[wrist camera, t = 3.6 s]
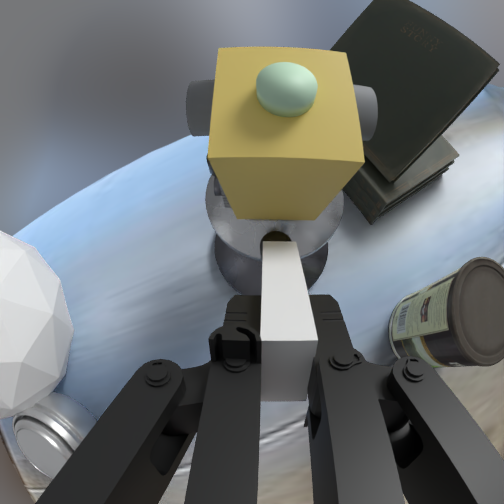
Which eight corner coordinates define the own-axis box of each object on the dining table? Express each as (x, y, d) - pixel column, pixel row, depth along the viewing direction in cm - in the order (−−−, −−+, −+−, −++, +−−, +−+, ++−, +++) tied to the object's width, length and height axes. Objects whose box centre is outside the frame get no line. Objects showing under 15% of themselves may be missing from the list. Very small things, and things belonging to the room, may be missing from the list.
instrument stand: (328, 302, 34) (383, 253, 18) (212, 301, 34) (168, 250, 18) (322, 201, 39) (352, 106, 22) (220, 199, 39) (196, 103, 23)
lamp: (57, 201, 34) (-68, 170, 11) (173, 405, 36) (125, 531, 12) (-16, 274, 34) (-113, 286, 10) (78, 440, 35) (16, 520, 12)
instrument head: (333, 221, 22) (406, 158, 9) (217, 219, 22) (163, 151, 10) (329, 151, 23) (379, 47, 10) (221, 149, 23) (184, 40, 10)
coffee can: (455, 355, 30) (526, 345, 17) (394, 377, 30) (461, 382, 17) (441, 285, 34) (506, 249, 21) (381, 299, 34) (440, 265, 20)
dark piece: (279, 120, 45) (283, -17, 21) (360, 92, 48) (388, -15, 24) (369, 226, 38) (459, 86, 14) (443, 176, 40) (516, 73, 17)
